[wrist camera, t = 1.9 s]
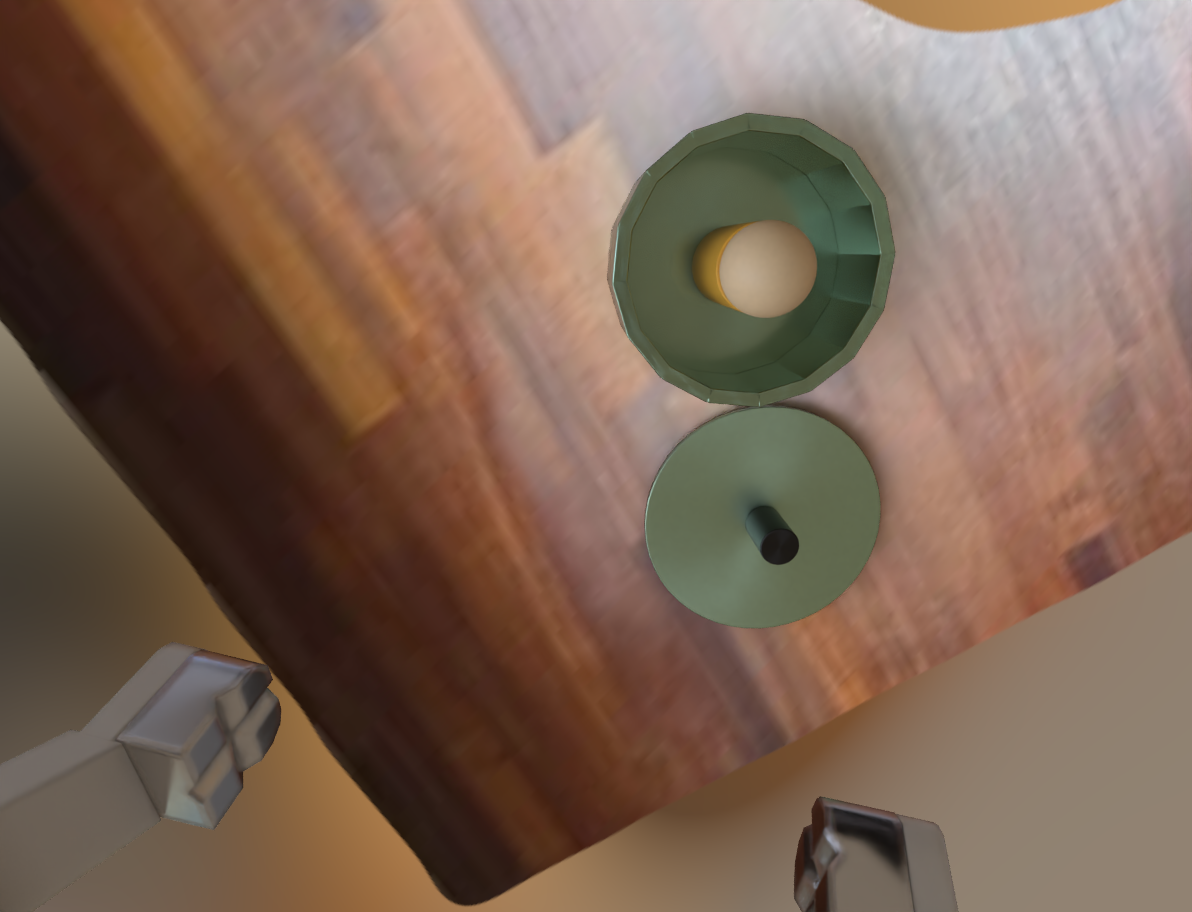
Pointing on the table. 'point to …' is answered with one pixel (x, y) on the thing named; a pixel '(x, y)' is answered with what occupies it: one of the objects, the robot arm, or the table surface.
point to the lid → (762, 516)
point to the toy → (756, 267)
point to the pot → (741, 195)
